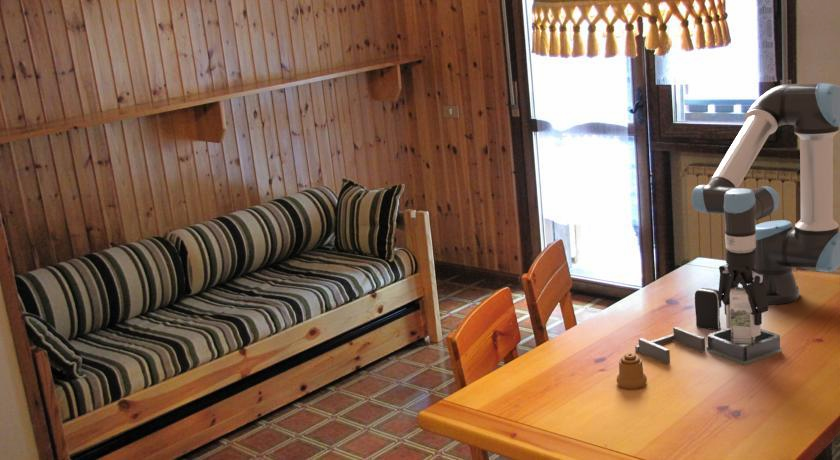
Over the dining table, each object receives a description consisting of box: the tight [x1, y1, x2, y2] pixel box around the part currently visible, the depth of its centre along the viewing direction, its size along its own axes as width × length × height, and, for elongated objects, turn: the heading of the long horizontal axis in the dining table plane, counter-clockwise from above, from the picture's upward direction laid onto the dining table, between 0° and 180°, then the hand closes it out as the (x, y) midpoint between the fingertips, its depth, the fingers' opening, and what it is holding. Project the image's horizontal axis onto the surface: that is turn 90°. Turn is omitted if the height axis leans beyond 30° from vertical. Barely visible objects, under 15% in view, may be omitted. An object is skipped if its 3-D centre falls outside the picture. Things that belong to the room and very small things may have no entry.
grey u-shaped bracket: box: [634, 326, 706, 365], centre depth 253 cm, size 13×13×4 cm
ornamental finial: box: [616, 353, 648, 390], centre depth 235 cm, size 8×8×8 cm
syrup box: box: [730, 286, 755, 345], centre depth 245 cm, size 6×6×14 cm
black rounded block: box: [694, 287, 722, 331], centre depth 266 cm, size 7×4×11 cm, turn 46°
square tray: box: [705, 327, 783, 366], centre depth 247 cm, size 13×13×4 cm
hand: (743, 331), depth 246 cm, fingers closed on syrup box, 8 cm apart
